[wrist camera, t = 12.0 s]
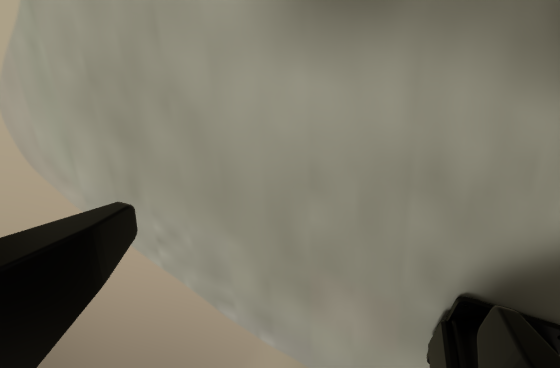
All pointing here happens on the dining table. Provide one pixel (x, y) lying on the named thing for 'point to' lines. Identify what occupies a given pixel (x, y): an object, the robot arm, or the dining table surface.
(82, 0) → the dining table surface
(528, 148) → the dining table surface
